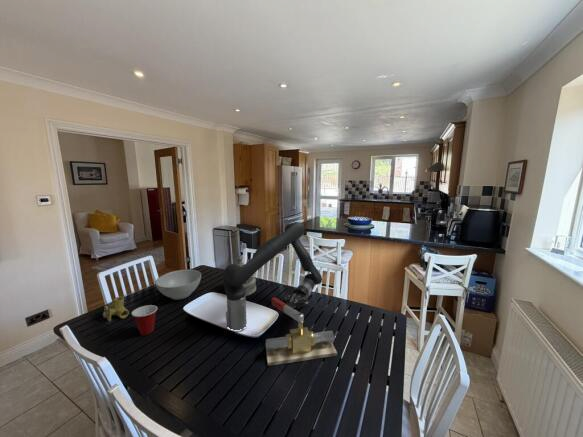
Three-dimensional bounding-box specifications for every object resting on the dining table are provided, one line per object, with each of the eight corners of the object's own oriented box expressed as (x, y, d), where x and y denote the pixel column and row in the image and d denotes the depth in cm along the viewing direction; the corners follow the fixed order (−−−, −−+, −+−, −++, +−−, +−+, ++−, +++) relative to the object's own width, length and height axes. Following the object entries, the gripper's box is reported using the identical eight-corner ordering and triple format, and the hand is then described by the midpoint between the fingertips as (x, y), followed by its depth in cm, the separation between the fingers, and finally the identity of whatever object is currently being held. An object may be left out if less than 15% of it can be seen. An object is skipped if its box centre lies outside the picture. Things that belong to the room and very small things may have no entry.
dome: (233, 263, 140) (218, 254, 154) (235, 301, 144) (220, 289, 159) (261, 255, 153) (245, 248, 168) (262, 290, 158) (246, 280, 172)
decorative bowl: (188, 282, 170) (187, 266, 168) (210, 292, 155) (209, 275, 153) (149, 297, 149) (147, 279, 147) (170, 311, 134) (168, 292, 131)
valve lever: (304, 321, 101) (305, 314, 101) (300, 324, 99) (300, 317, 99) (275, 303, 116) (275, 296, 115) (271, 305, 114) (270, 298, 113)
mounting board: (267, 365, 95) (267, 360, 95) (265, 345, 107) (265, 339, 106) (336, 355, 101) (337, 349, 100) (327, 336, 112) (327, 331, 112)
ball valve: (118, 310, 136) (98, 317, 127) (119, 293, 135) (98, 299, 126) (130, 318, 130) (109, 325, 121) (131, 300, 129) (110, 307, 120)
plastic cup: (164, 326, 120) (162, 305, 118) (147, 340, 110) (144, 317, 108) (147, 323, 123) (145, 302, 121) (129, 336, 113) (125, 314, 110)
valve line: (267, 358, 97) (266, 331, 95) (265, 346, 104) (265, 320, 102) (334, 348, 103) (335, 322, 101) (329, 337, 110) (330, 313, 107)
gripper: (291, 282, 126) (276, 298, 110) (314, 287, 120) (302, 304, 105) (291, 295, 127) (276, 312, 112) (314, 300, 122) (301, 319, 106)
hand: (288, 308), depth 108 cm, fingers closed
